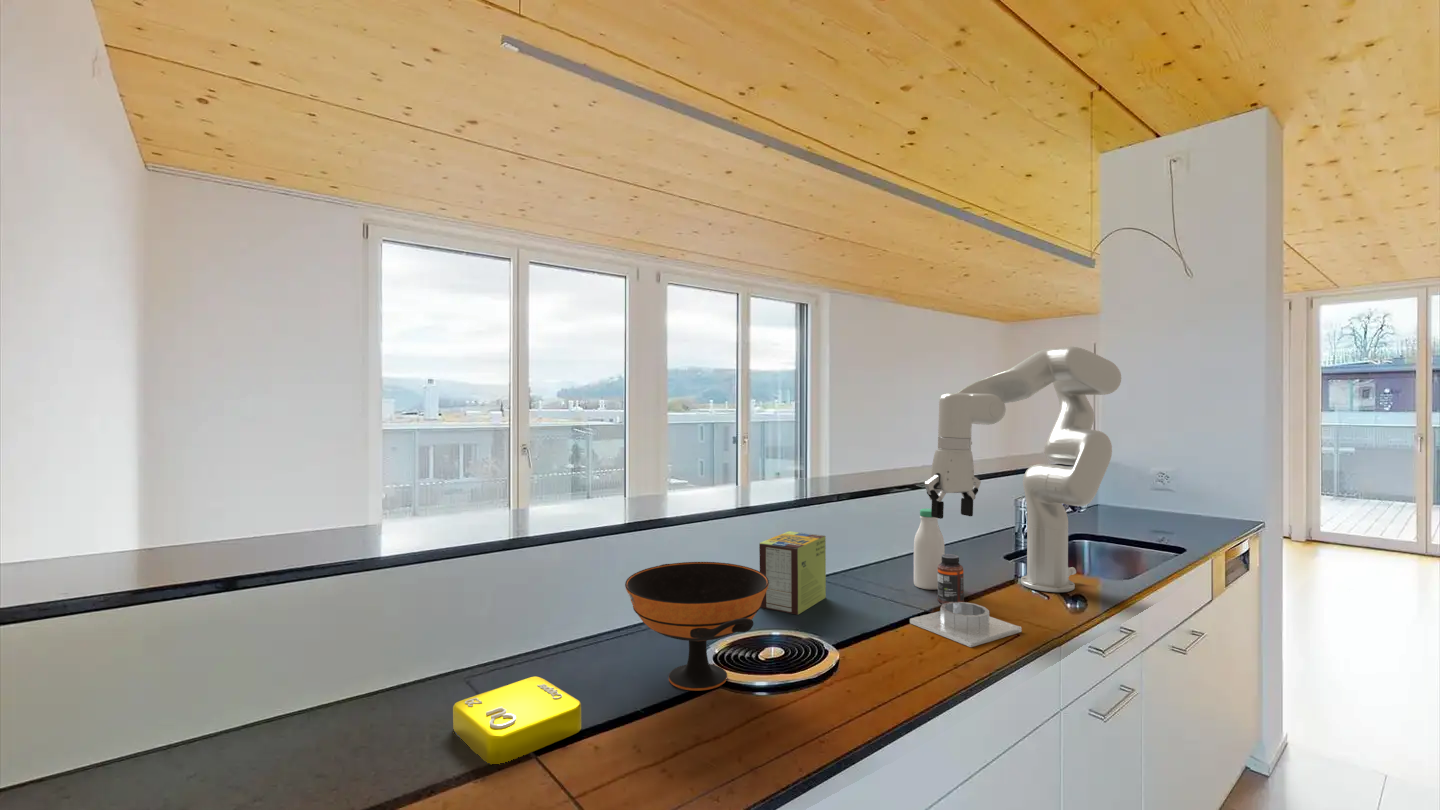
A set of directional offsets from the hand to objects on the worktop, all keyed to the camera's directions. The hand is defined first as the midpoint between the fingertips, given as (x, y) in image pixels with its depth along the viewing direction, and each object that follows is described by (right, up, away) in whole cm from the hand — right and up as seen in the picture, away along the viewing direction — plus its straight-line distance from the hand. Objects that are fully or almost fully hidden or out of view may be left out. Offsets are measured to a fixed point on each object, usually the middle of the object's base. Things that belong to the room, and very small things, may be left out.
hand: (952, 516), depth 159 cm
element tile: (-86, -23, -58) cm, 106 cm away
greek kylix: (-59, -22, -40) cm, 75 cm away
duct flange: (-3, -21, -16) cm, 27 cm away
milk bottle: (-1, -21, +14) cm, 25 cm away
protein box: (-38, -21, +2) cm, 43 cm away
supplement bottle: (0, -21, +1) cm, 21 cm away
